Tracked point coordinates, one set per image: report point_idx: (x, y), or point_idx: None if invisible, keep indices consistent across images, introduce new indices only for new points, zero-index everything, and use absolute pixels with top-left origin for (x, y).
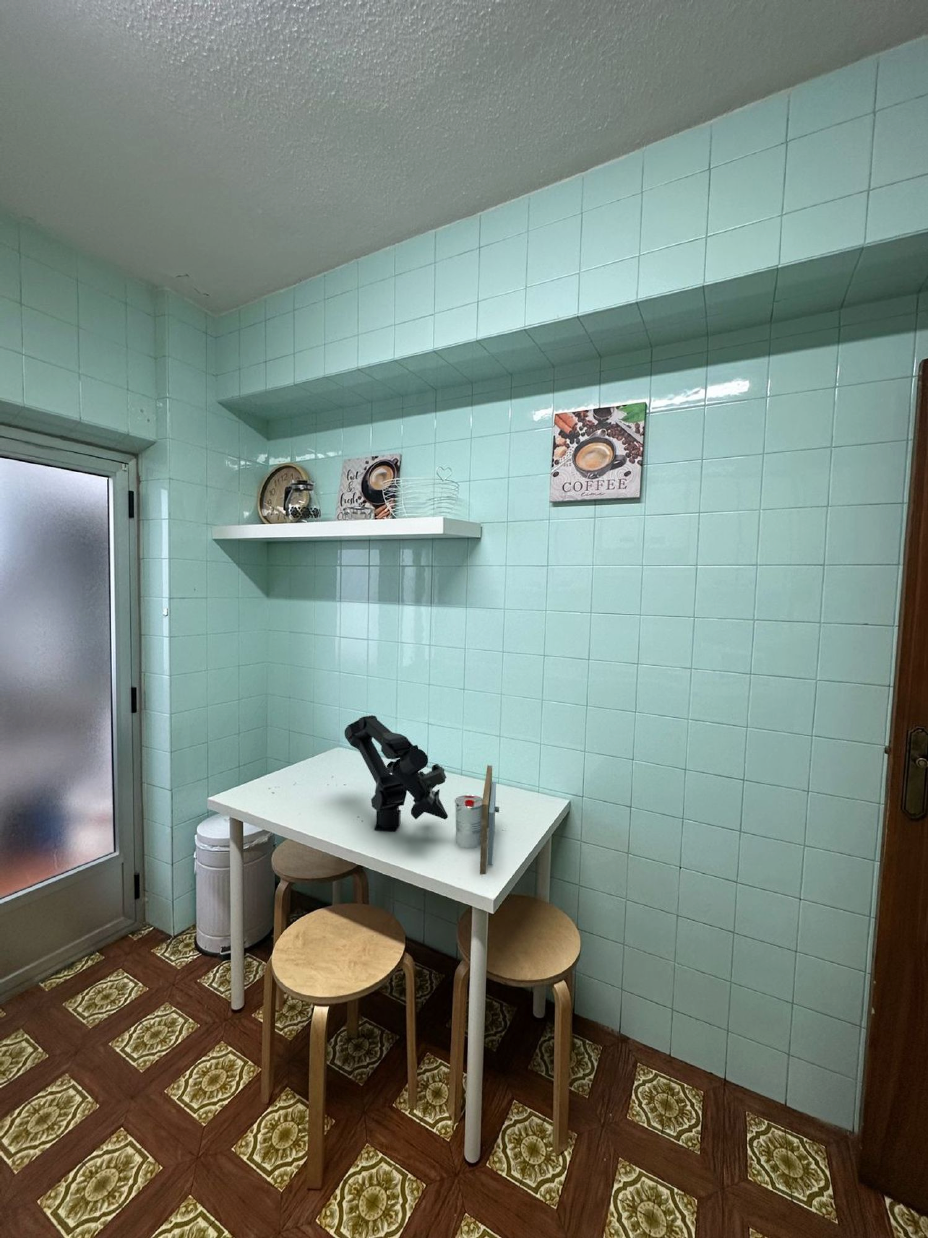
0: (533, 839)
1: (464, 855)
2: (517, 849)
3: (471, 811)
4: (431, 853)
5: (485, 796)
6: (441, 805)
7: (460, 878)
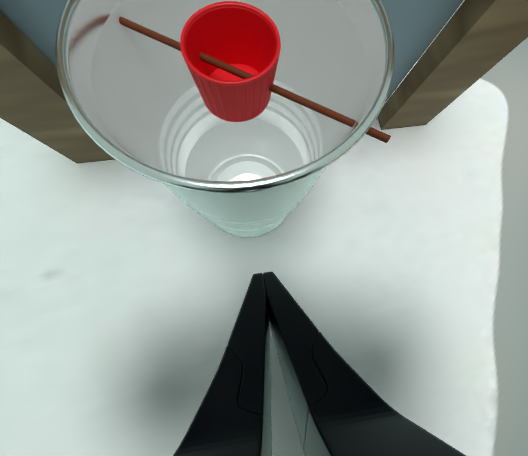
0: None
1: (340, 188)
2: None
3: (348, 42)
4: (368, 303)
5: None
6: (262, 349)
7: (469, 171)
